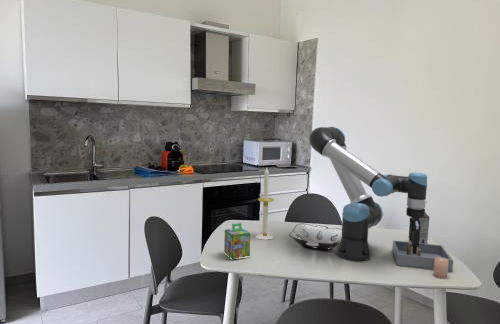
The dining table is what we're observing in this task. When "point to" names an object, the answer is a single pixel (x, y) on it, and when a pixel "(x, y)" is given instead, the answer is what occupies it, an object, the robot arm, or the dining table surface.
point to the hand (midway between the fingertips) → (412, 257)
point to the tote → (420, 261)
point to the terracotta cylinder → (440, 267)
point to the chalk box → (237, 242)
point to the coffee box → (424, 229)
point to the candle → (265, 203)
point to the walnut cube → (410, 251)
